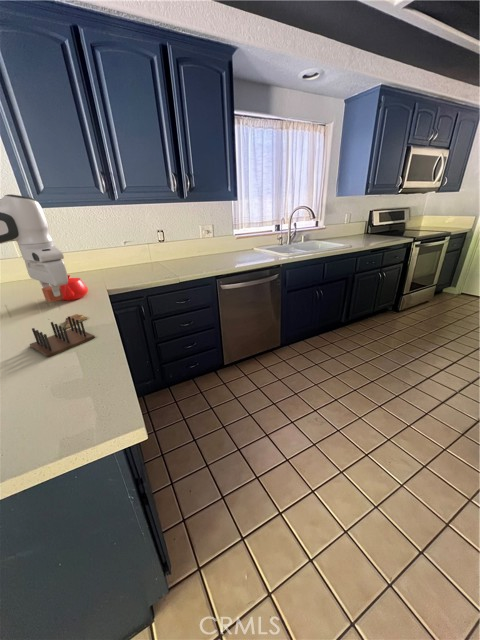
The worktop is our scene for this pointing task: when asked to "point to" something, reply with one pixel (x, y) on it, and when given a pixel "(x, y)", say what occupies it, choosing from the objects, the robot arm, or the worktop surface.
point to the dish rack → (60, 338)
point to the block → (49, 295)
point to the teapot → (74, 289)
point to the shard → (76, 317)
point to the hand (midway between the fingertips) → (53, 294)
